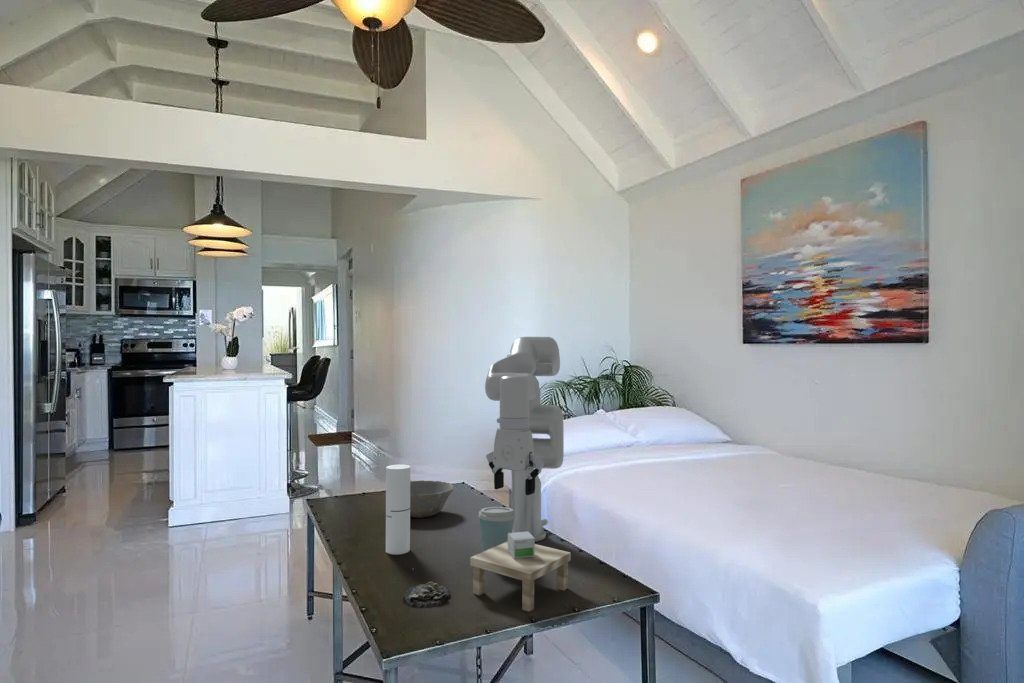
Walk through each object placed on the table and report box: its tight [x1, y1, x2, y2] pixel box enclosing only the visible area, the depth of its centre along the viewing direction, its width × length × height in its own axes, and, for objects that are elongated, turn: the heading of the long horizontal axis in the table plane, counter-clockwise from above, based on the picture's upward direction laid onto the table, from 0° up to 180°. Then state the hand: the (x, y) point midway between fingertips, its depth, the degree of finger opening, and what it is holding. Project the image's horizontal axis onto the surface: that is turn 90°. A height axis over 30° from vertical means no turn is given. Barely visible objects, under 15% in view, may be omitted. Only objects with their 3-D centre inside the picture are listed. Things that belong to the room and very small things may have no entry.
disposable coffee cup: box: [478, 506, 516, 552], centre depth 172 cm, size 11×11×15 cm
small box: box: [508, 532, 536, 559], centre depth 151 cm, size 6×6×5 cm
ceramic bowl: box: [410, 480, 455, 519], centre depth 220 cm, size 22×23×10 cm
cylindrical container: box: [385, 464, 411, 555], centre depth 181 cm, size 7×7×25 cm
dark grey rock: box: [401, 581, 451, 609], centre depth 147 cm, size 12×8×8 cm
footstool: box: [469, 541, 572, 612], centre depth 151 cm, size 18×18×9 cm
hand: (514, 491), depth 154 cm, fingers open, 9 cm apart
